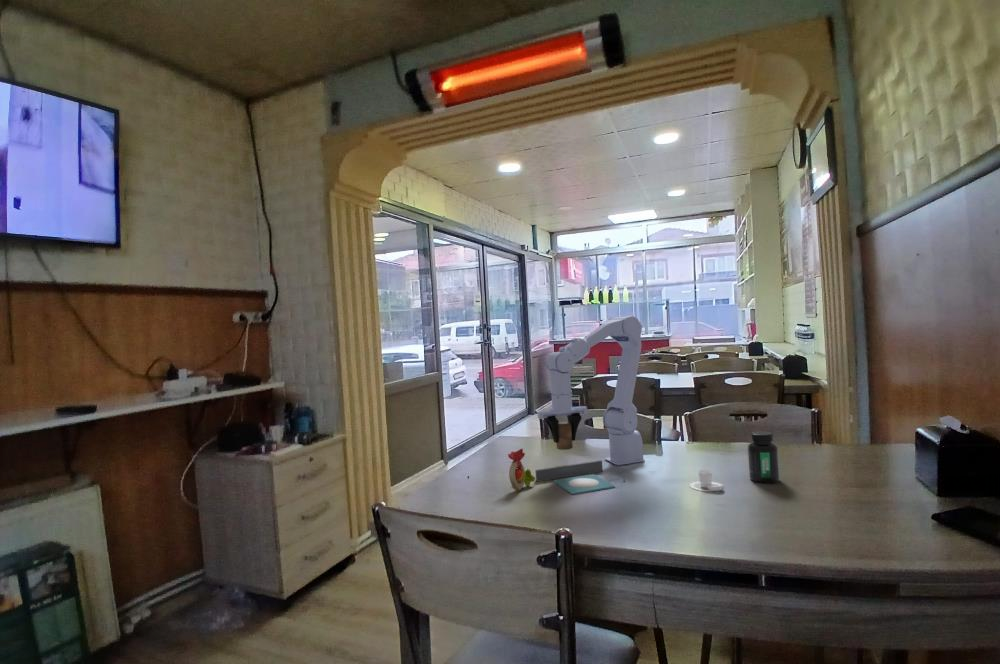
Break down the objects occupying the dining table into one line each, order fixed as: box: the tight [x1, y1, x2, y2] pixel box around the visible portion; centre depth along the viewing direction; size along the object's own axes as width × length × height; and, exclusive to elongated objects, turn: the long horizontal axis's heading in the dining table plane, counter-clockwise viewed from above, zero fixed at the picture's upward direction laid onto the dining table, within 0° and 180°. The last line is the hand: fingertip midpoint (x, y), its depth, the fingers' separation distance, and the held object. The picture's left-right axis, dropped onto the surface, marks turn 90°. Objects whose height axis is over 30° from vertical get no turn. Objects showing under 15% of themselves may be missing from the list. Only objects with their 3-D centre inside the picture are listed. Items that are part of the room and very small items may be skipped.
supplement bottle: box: [747, 430, 780, 485], centre depth 132 cm, size 7×7×12 cm
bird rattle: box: [507, 448, 536, 493], centre depth 138 cm, size 6×11×9 cm
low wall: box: [534, 459, 603, 482], centre depth 147 cm, size 20×1×3 cm, turn 106°
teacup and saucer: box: [689, 469, 725, 492], centre depth 130 cm, size 9×8×4 cm
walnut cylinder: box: [556, 421, 574, 451], centre depth 149 cm, size 4×4×7 cm
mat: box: [553, 473, 616, 495], centre depth 138 cm, size 12×12×1 cm
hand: (564, 441), depth 149 cm, fingers closed on walnut cylinder, 4 cm apart
